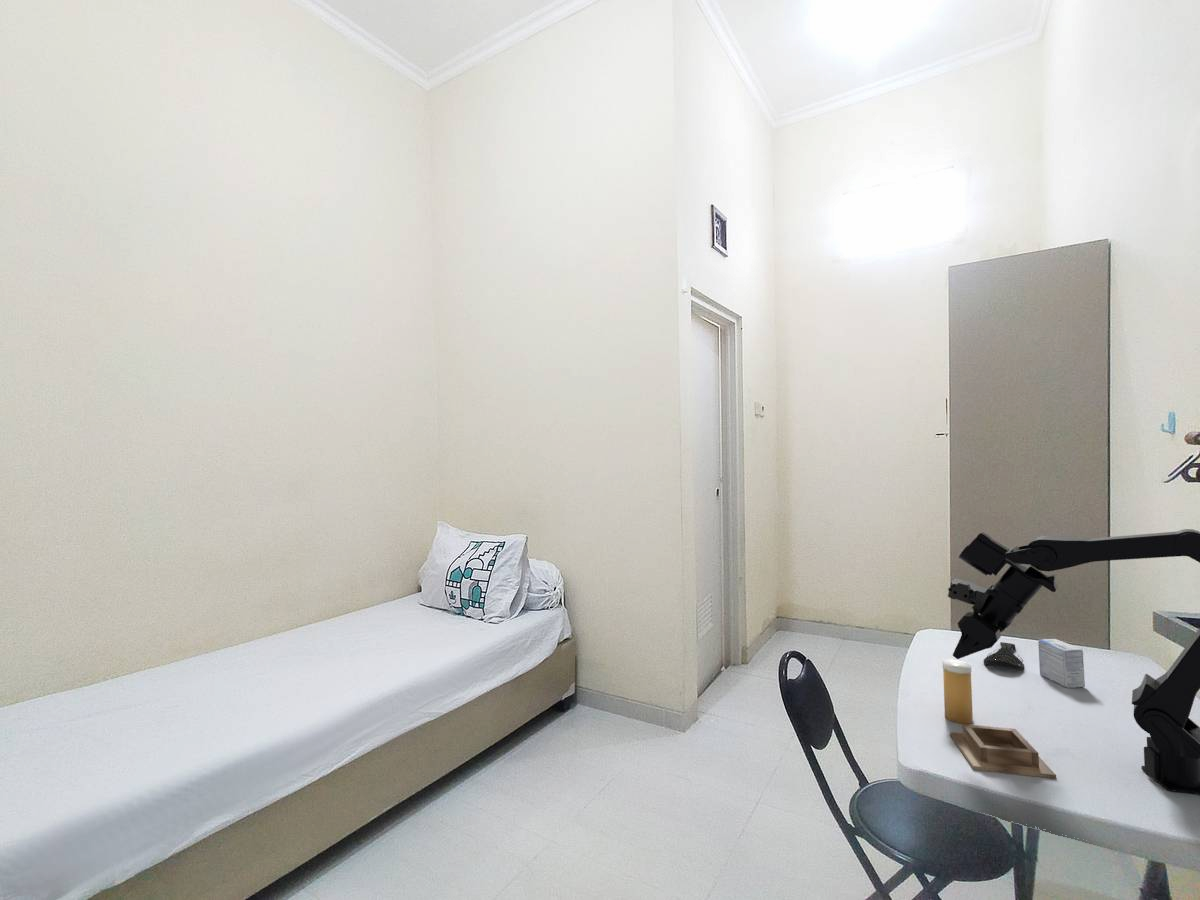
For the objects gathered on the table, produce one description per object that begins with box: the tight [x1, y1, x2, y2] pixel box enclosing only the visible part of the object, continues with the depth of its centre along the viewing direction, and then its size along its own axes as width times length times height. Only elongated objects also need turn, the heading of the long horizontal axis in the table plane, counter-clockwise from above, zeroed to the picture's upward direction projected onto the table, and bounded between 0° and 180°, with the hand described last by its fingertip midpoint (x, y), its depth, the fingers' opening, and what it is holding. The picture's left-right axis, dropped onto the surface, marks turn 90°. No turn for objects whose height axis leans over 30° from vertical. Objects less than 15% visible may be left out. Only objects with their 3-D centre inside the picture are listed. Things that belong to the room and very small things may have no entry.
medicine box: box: [1037, 638, 1086, 689], centre depth 129 cm, size 8×4×9 cm, turn 179°
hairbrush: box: [983, 642, 1025, 671], centre depth 145 cm, size 8×4×25 cm
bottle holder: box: [949, 724, 1057, 779], centre depth 99 cm, size 12×12×3 cm
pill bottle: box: [941, 659, 974, 725], centre depth 113 cm, size 5×5×11 cm
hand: (960, 650), depth 111 cm, fingers open, 9 cm apart
